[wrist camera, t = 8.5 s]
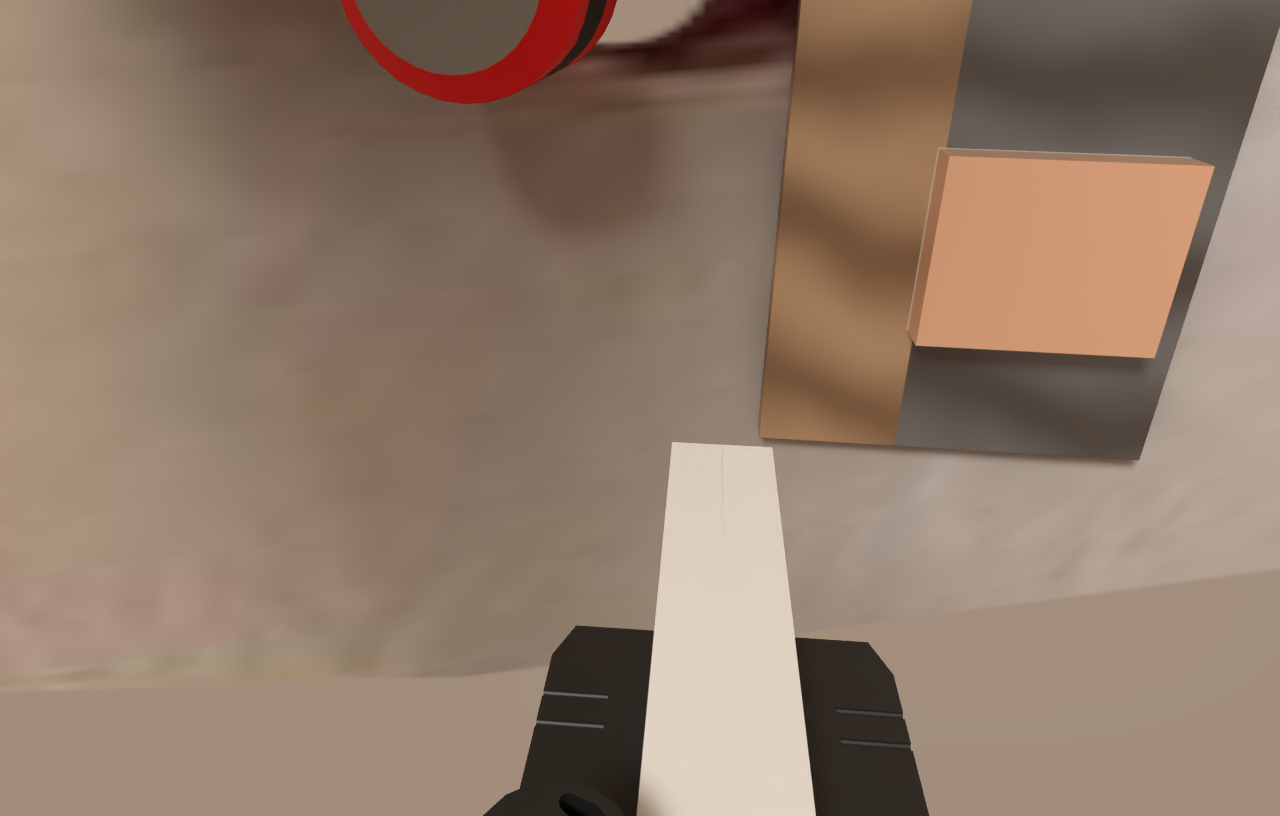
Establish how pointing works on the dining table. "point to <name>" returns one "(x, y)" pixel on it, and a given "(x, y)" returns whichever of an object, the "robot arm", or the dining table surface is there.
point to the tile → (1054, 250)
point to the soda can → (477, 42)
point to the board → (900, 189)
